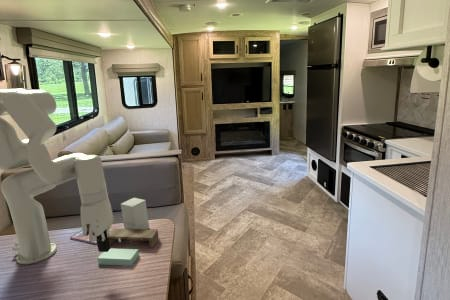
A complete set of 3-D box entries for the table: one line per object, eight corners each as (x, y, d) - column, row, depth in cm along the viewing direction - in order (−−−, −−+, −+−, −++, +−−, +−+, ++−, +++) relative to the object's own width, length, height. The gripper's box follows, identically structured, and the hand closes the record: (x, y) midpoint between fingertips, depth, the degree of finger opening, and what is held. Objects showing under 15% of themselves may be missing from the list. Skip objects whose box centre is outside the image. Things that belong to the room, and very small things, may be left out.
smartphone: (83, 231, 126) (111, 236, 120) (69, 239, 119) (97, 245, 113) (83, 229, 125) (110, 234, 120) (68, 237, 119) (96, 243, 113)
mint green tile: (98, 264, 101) (97, 258, 100) (107, 254, 107) (106, 248, 106) (131, 265, 99) (130, 259, 99) (139, 255, 105) (138, 249, 104)
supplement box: (149, 227, 125) (146, 199, 122) (136, 235, 119) (132, 206, 116) (137, 223, 129) (134, 196, 126) (124, 231, 122) (119, 203, 119)
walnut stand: (107, 246, 112) (105, 236, 111) (114, 237, 118) (113, 228, 117) (152, 247, 109) (151, 237, 108) (158, 239, 115) (157, 229, 114)
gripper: (96, 187, 97) (106, 238, 101) (66, 206, 82) (79, 264, 86) (118, 186, 95) (126, 238, 99) (91, 206, 81) (102, 265, 85)
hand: (104, 250), depth 93 cm, fingers closed
